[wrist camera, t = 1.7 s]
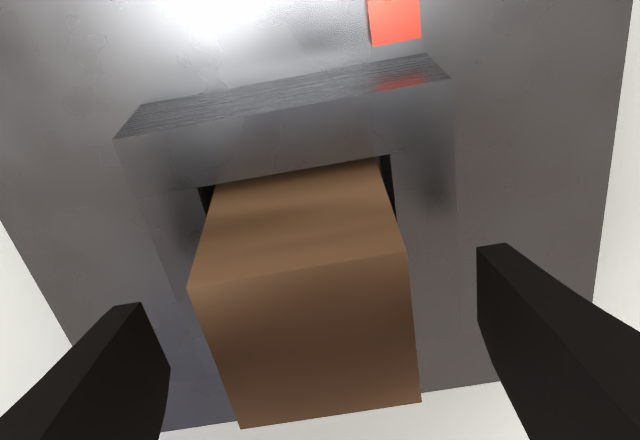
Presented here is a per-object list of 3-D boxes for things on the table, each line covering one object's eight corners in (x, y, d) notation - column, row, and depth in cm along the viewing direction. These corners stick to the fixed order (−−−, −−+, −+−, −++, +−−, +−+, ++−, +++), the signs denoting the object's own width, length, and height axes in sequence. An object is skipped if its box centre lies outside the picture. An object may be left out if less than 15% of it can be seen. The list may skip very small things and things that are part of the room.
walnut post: (382, 253, 16) (421, 402, 11) (256, 273, 16) (240, 429, 11) (367, 133, 14) (406, 251, 9) (223, 159, 14) (186, 287, 9)
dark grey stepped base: (570, 349, 20) (619, 424, 17) (131, 416, 21) (105, 499, 18) (638, -243, 11) (766, -303, 8) (-140, -83, 12) (-285, -83, 9)
